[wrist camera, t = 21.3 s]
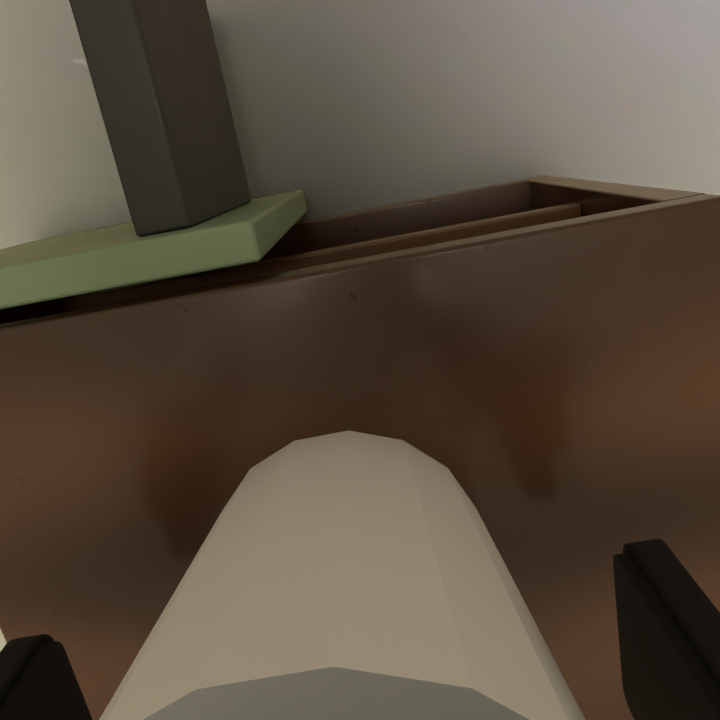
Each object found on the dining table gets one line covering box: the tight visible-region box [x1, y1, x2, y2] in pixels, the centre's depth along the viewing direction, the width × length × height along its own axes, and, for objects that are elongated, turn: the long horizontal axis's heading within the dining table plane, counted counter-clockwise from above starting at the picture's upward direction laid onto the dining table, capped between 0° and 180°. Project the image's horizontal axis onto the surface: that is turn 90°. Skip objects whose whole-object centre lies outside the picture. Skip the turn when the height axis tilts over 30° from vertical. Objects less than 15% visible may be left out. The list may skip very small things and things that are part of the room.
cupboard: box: [0, 176, 720, 720], centre depth 19 cm, size 12×16×12 cm
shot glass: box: [99, 430, 585, 720], centre depth 10 cm, size 7×7×7 cm
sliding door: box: [0, 0, 307, 309], centre depth 17 cm, size 7×10×11 cm
